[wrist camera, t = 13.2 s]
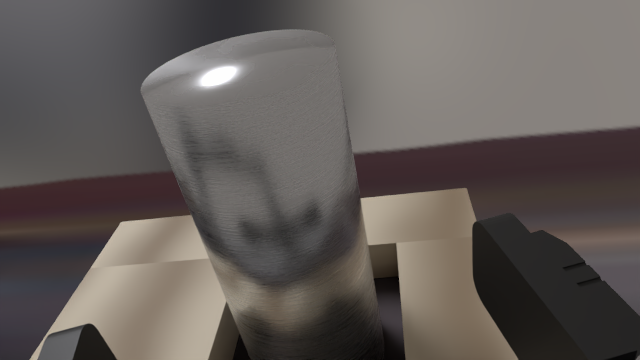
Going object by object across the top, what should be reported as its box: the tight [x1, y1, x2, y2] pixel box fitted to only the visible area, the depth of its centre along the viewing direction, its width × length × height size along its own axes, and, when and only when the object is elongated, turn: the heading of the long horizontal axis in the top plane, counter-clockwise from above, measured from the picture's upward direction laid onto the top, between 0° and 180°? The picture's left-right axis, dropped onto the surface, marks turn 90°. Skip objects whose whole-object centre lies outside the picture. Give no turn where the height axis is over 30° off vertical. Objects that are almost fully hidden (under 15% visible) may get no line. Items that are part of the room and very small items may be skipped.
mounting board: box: [30, 188, 518, 360], centre depth 19 cm, size 18×14×2 cm
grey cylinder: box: [141, 30, 385, 360], centre depth 16 cm, size 6×5×12 cm
